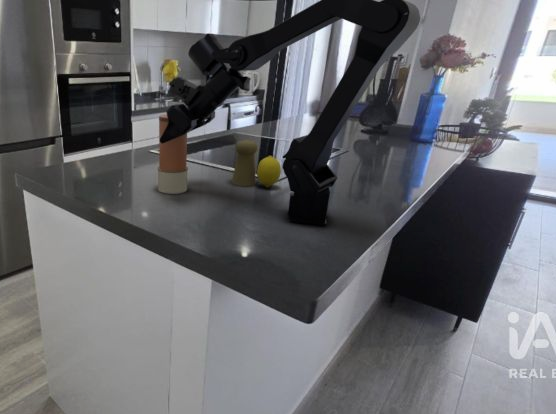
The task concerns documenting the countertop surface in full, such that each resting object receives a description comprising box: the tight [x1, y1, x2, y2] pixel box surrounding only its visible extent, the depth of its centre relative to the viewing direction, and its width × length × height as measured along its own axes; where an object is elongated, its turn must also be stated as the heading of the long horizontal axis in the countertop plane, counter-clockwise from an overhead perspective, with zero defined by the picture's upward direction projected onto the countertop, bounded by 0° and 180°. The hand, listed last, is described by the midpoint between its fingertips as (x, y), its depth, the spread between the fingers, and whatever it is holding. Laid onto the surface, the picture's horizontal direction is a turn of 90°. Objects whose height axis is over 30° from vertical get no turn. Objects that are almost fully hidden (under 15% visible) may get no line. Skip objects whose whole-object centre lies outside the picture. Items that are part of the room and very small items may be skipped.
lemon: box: [256, 155, 282, 188], centre depth 94 cm, size 6×6×8 cm
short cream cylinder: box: [157, 166, 189, 195], centre depth 94 cm, size 7×7×6 cm
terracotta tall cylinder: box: [158, 113, 188, 171], centre depth 91 cm, size 7×7×12 cm
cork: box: [231, 139, 258, 187], centre depth 97 cm, size 6×6×11 cm
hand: (168, 138), depth 91 cm, fingers open, 9 cm apart
